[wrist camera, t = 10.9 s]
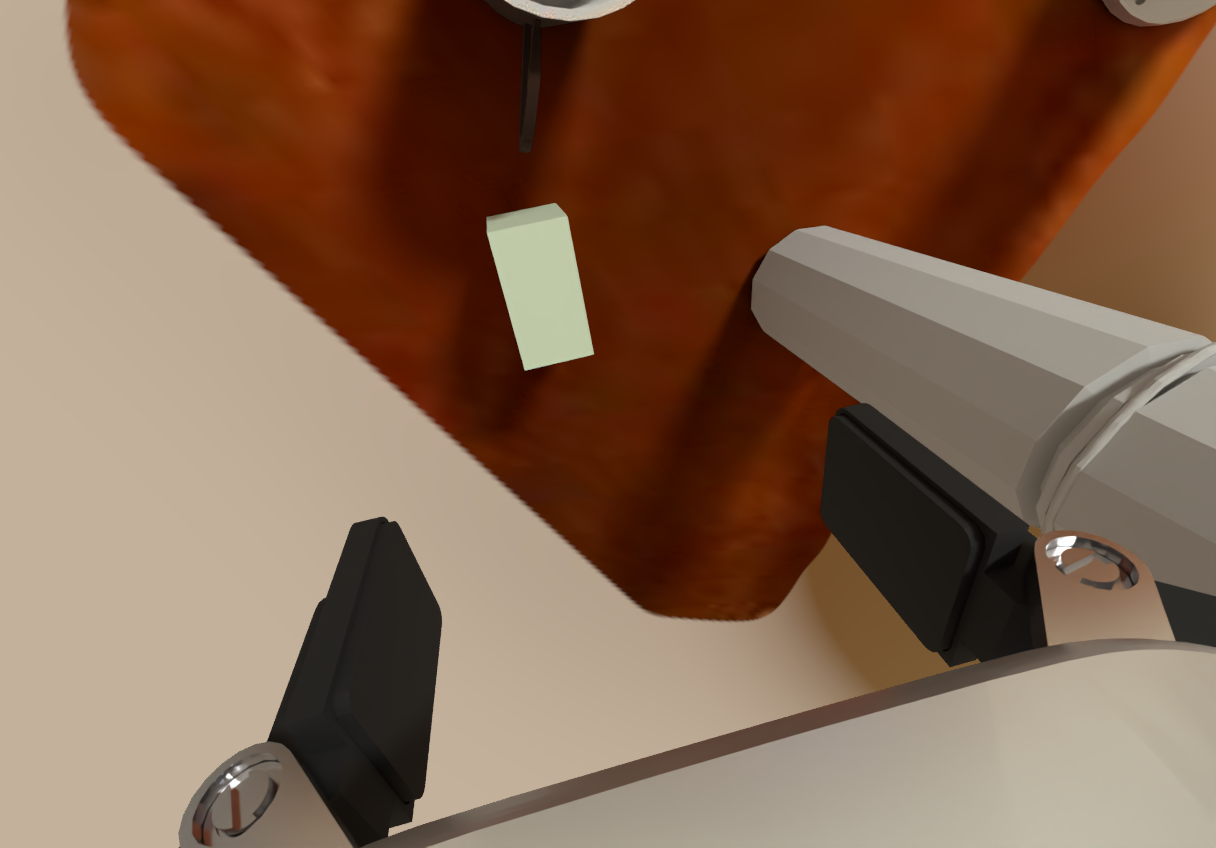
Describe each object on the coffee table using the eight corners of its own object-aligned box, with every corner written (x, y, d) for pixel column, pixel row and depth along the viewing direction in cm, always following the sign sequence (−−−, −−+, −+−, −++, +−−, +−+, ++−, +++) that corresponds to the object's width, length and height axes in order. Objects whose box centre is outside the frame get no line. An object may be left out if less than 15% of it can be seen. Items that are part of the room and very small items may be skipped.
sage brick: (486, 217, 23) (486, 232, 20) (555, 202, 23) (567, 215, 20) (519, 339, 26) (524, 370, 23) (579, 325, 27) (593, 354, 23)
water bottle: (728, 336, 33) (1155, 707, 12) (766, 207, 30) (1477, 412, 8) (847, 348, 36) (1378, 675, 14) (896, 231, 32) (1704, 436, 11)
